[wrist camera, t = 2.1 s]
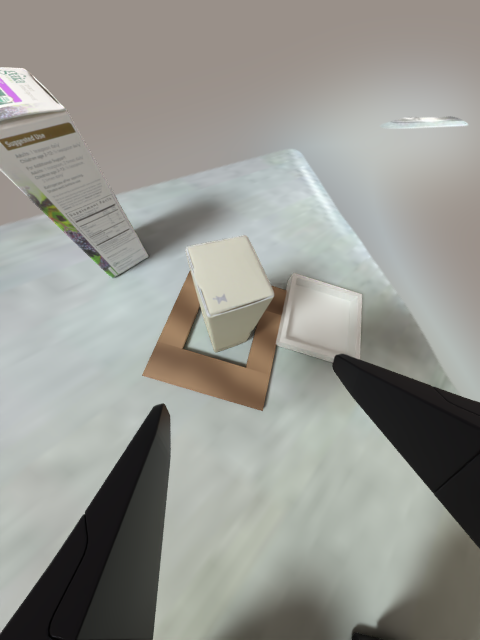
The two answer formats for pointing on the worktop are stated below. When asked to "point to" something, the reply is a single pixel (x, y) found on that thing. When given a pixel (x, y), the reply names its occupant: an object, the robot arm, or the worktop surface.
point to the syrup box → (62, 173)
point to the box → (229, 288)
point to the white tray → (320, 319)
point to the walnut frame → (210, 372)
